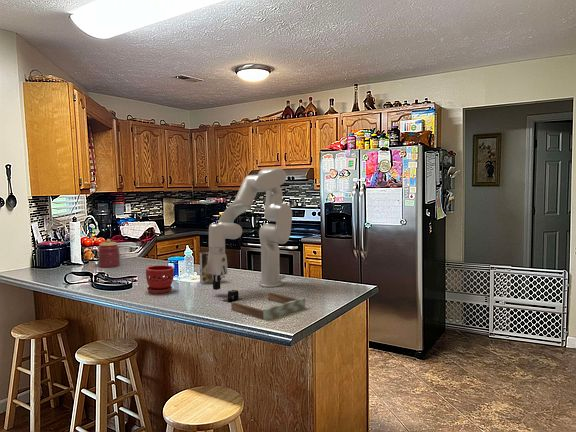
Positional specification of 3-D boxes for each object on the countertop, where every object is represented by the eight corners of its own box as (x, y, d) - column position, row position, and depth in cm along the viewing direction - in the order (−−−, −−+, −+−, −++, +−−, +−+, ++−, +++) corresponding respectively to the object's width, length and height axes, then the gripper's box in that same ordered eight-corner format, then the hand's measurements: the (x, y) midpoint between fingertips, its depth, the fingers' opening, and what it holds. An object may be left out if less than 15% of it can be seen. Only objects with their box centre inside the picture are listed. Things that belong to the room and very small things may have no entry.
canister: (116, 263, 288) (115, 237, 286) (123, 266, 278) (122, 238, 276) (95, 265, 279) (94, 238, 278) (101, 268, 269) (100, 240, 268)
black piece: (237, 297, 202) (237, 287, 202) (248, 299, 198) (248, 289, 198) (217, 302, 192) (217, 292, 192) (229, 305, 188) (229, 294, 188)
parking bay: (270, 299, 196) (270, 290, 195) (305, 307, 182) (305, 298, 181) (231, 310, 179) (231, 300, 178) (266, 320, 165) (266, 310, 164)
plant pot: (151, 296, 202) (151, 270, 201) (142, 290, 212) (142, 266, 212) (178, 292, 209) (177, 267, 209) (168, 287, 220) (168, 263, 219)
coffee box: (201, 284, 225) (201, 253, 224) (199, 281, 231) (199, 252, 230) (219, 282, 229) (218, 252, 228) (216, 280, 235) (216, 251, 234)
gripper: (233, 251, 199) (233, 290, 200) (213, 248, 209) (213, 285, 210) (220, 252, 194) (220, 293, 194) (200, 249, 204) (200, 287, 205)
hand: (216, 289), depth 202 cm, fingers closed
